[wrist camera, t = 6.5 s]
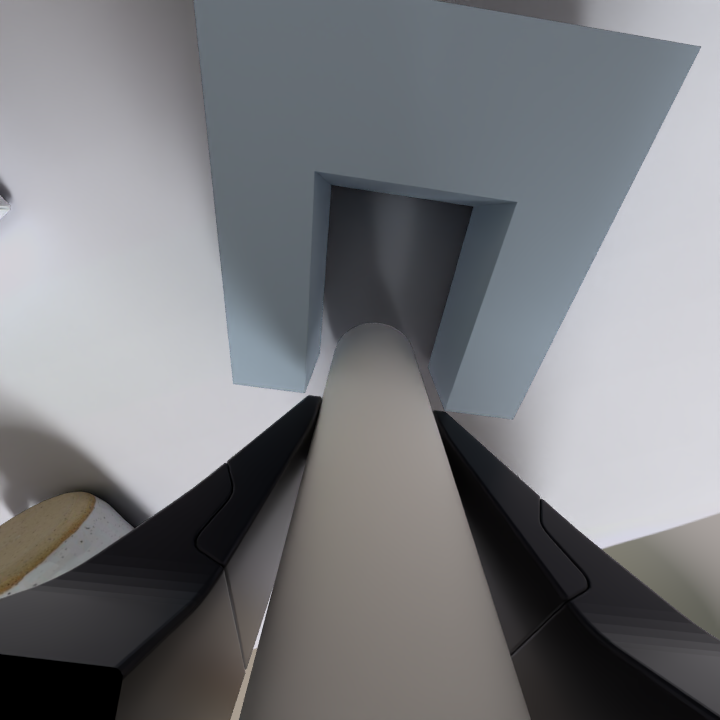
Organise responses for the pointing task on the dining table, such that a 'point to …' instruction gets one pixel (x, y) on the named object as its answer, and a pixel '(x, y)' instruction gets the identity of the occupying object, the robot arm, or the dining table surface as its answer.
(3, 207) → the tea box
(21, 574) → the ceramic mug
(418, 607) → the dowel
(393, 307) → the dining table surface
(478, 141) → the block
